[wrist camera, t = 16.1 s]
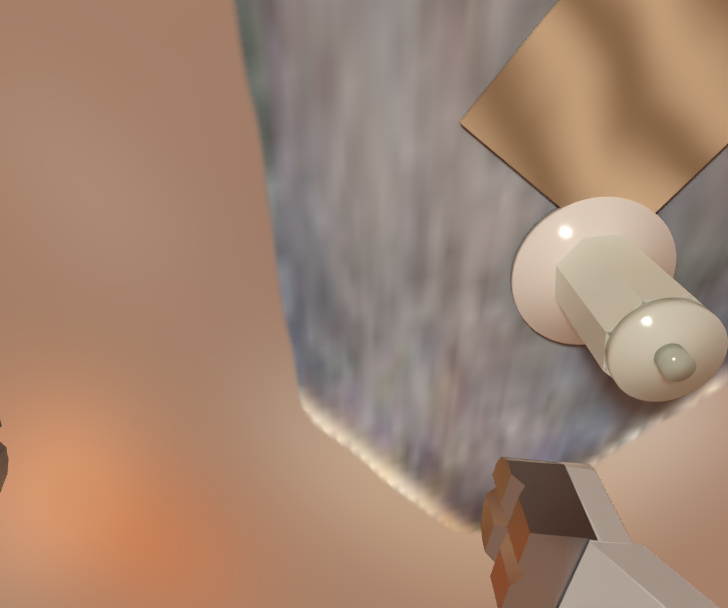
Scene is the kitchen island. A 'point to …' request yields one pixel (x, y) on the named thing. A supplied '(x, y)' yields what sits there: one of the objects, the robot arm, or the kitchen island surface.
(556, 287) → the lidded octagonal canister
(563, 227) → the saucer
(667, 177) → the mat
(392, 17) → the kitchen island surface
